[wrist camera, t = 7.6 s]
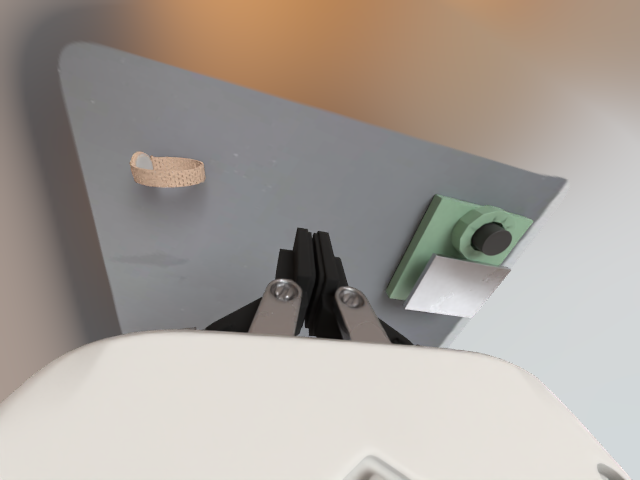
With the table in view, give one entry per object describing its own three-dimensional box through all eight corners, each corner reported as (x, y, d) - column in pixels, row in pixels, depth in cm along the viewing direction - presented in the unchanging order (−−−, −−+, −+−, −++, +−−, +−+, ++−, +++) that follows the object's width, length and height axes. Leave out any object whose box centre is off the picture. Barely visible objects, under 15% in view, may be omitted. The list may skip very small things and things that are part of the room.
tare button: (481, 220, 23) (494, 227, 22) (504, 225, 24) (518, 233, 22) (465, 244, 25) (476, 253, 23) (488, 249, 25) (500, 258, 24)
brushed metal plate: (433, 252, 24) (436, 255, 24) (507, 266, 26) (511, 270, 26) (402, 305, 28) (404, 309, 27) (469, 314, 30) (472, 318, 29)
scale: (437, 189, 24) (454, 199, 21) (525, 212, 26) (550, 223, 24) (385, 290, 31) (393, 307, 28) (459, 301, 33) (473, 318, 30)
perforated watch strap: (154, 147, 20) (113, 156, 15) (211, 153, 20) (187, 164, 16) (161, 177, 21) (125, 194, 17) (214, 182, 22) (193, 200, 17)
